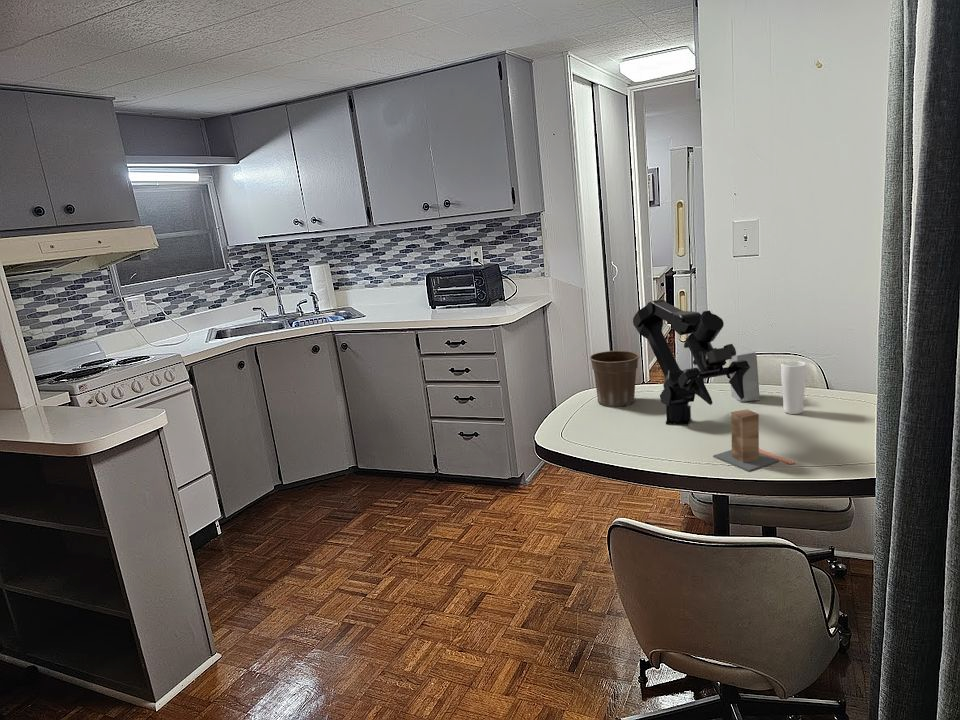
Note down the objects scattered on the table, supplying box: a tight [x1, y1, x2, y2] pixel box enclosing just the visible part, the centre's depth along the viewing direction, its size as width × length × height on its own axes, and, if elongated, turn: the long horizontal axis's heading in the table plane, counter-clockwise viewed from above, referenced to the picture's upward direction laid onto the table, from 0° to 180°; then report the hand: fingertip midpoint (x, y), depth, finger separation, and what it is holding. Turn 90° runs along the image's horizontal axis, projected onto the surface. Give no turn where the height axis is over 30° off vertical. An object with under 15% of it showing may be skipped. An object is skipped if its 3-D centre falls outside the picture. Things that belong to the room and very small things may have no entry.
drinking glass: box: [780, 360, 807, 415], centre depth 198 cm, size 7×7×15 cm
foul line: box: [759, 448, 796, 466], centre depth 172 cm, size 18×2×1 cm, turn 24°
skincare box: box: [728, 347, 761, 403], centre depth 215 cm, size 8×7×16 cm
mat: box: [712, 449, 780, 472], centre depth 170 cm, size 12×10×1 cm
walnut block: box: [730, 408, 760, 462], centre depth 168 cm, size 5×5×12 cm
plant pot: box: [589, 350, 640, 408], centre depth 224 cm, size 16×16×16 cm
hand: (727, 401), depth 174 cm, fingers open, 9 cm apart
